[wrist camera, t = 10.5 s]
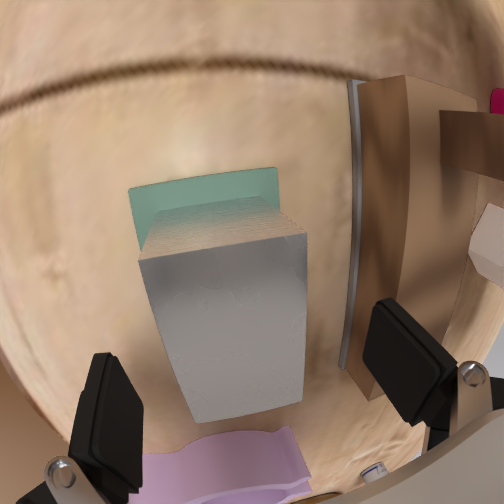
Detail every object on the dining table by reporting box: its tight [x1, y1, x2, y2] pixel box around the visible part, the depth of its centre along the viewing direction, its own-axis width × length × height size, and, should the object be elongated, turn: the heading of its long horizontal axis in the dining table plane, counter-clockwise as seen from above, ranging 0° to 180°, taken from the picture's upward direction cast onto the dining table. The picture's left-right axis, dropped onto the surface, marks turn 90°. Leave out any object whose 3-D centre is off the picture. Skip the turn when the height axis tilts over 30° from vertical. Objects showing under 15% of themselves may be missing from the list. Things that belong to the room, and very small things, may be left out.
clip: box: [129, 426, 312, 504], centre depth 23 cm, size 20×12×7 cm, turn 101°
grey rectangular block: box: [138, 196, 307, 424], centre depth 13 cm, size 9×6×6 cm, turn 5°
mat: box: [128, 167, 280, 251], centre depth 17 cm, size 12×8×1 cm, turn 5°
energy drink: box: [361, 462, 389, 484], centre depth 37 cm, size 5×5×12 cm
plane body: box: [339, 75, 504, 401], centre depth 14 cm, size 23×8×11 cm, turn 5°
